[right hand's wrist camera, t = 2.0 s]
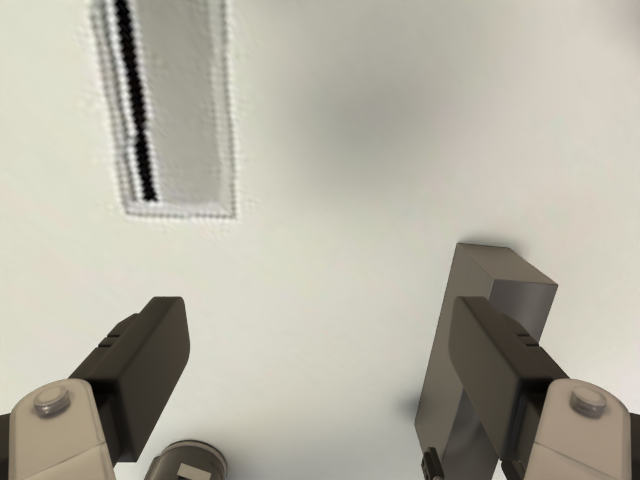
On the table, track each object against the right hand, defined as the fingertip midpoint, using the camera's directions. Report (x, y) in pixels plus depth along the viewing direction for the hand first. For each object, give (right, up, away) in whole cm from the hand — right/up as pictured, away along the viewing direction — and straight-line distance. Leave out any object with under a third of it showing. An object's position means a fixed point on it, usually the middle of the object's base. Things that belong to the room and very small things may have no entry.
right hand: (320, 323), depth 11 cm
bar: (+17, -10, +35) cm, 40 cm away
